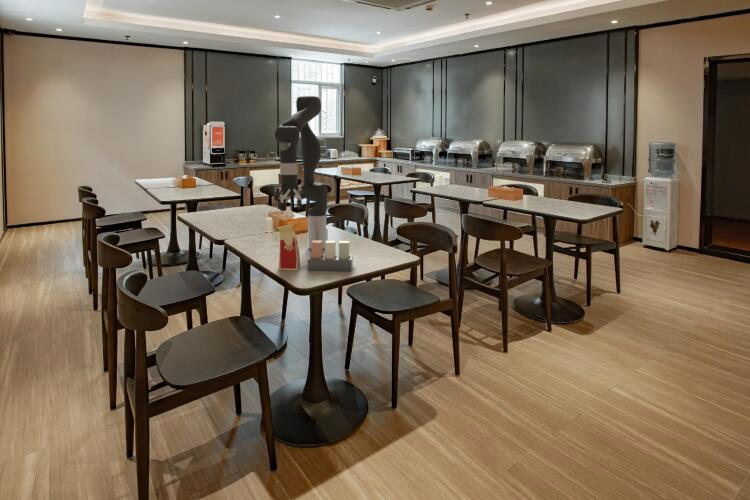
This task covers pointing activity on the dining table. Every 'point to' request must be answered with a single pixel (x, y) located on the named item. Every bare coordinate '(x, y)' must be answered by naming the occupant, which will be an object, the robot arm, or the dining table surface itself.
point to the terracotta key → (316, 249)
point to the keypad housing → (330, 264)
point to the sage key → (343, 249)
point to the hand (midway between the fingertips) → (290, 209)
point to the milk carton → (288, 249)
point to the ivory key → (330, 249)
